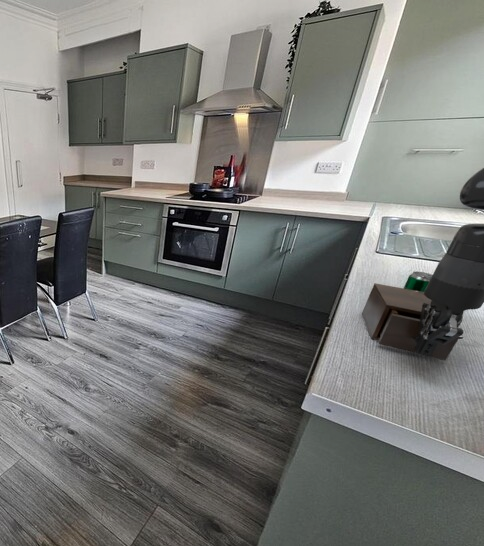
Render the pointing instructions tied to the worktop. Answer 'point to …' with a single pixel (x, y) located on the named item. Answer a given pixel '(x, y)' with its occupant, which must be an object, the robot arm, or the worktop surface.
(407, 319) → the drawer
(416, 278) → the soda can
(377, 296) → the cabinet
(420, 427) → the worktop surface
